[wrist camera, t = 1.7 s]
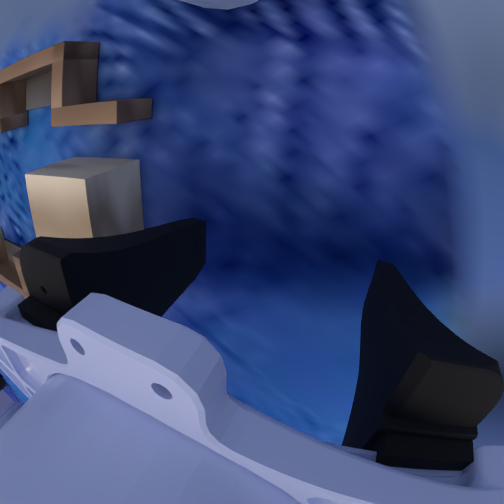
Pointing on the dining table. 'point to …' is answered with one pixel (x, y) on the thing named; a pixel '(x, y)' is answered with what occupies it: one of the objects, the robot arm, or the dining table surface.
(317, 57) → the dining table surface
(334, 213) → the dining table surface
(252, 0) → the white tapered cup
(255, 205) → the dining table surface
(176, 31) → the dining table surface
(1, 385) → the milk frother
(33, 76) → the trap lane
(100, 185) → the oak block
